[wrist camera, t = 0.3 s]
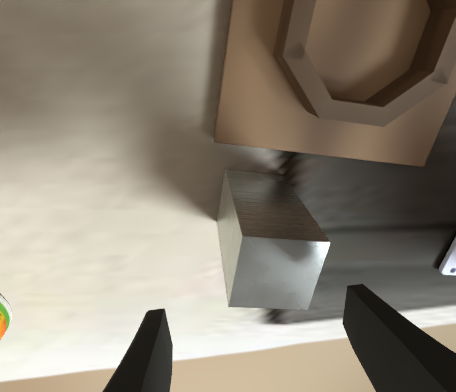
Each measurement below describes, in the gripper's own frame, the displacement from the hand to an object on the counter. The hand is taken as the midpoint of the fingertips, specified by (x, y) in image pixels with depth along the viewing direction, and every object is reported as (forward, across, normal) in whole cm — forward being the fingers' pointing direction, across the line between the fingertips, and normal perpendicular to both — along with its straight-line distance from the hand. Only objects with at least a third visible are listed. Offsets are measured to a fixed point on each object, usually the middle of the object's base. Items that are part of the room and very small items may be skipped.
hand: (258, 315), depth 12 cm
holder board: (+10, -8, -10) cm, 16 cm away
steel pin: (+10, -1, 0) cm, 10 cm away
